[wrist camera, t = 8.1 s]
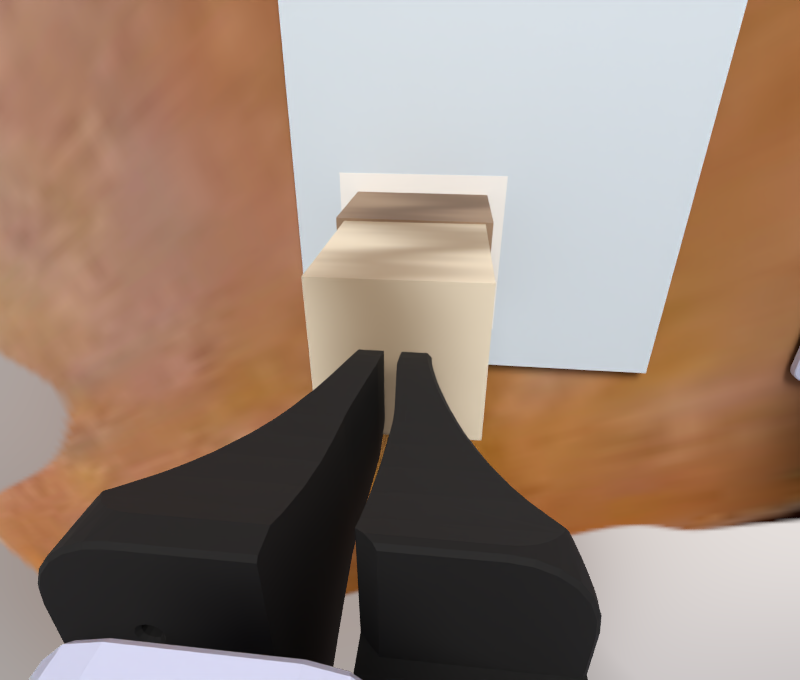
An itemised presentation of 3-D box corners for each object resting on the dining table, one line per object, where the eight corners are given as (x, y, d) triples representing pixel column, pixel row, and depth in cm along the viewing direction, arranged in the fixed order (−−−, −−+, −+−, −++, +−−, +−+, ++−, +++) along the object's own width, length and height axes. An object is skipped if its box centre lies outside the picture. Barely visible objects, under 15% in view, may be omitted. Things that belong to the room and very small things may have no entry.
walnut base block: (487, 195, 19) (493, 222, 16) (477, 313, 22) (480, 360, 18) (358, 191, 20) (336, 217, 16) (362, 308, 22) (343, 353, 19)
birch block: (485, 224, 16) (495, 283, 11) (476, 349, 18) (481, 440, 14) (343, 220, 16) (301, 276, 12) (351, 343, 18) (316, 430, 14)
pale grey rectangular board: (847, -408, 12) (865, -431, 12) (641, 366, 23) (645, 373, 22) (251, -364, 14) (242, -382, 13) (314, 348, 24) (310, 355, 23)
